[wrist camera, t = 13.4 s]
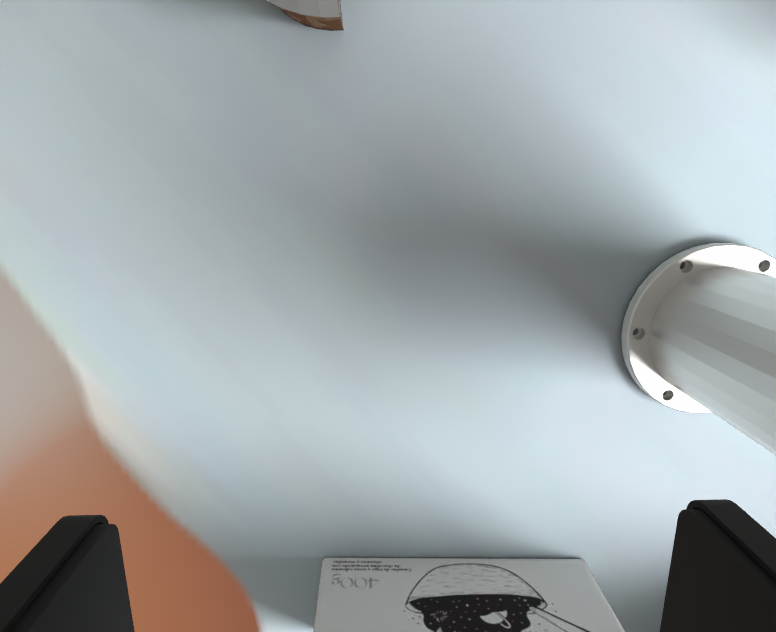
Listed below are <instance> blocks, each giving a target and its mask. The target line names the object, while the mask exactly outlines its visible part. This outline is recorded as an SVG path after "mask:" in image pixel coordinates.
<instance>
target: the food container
mask: <svg viewBox="0 0 776 632" xmlns="http://www.w3.org/2000/svg"><path fill="white" fill-rule="evenodd" d="M266 1H268V2H270V3H272V4H274V5H276V6H278V7H279V8H280V9H281V10H282V11H283V12H284V13H285V14H287V15H288V16H290V17H291V18H292V19H294V20H296V21H298V22H300V23H302V24H304V25H306V26H309V27H313V28H316V29H321V30H329V31H334V30H344V29H343V21H342V13H341V5H340V0H266Z"/></svg>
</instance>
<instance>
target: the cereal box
mask: <svg viewBox="0 0 776 632" xmlns="http://www.w3.org/2000/svg"><path fill="white" fill-rule="evenodd" d="M313 632H625V631H624V629H623V627H622V625H621V624H620V622H619V620H618V618H617V617H616V615H615V613H614V611H613V610H612V608H611V606H610V604H609V603H608V601H607V599H606V597H605V595H604V594H603V592H602V590H601V588H600V587H599V585H598V583H597V581H596V580H595V578H594V576H593V574H592V573H591V571H590V569H589V567H588V566H587V564H586V562H585V561H584V560H582V559H491V558H324V560H323V562H322V567H321V575H320V583H319V591H318V599H317V607H316V615H315V623H314V631H313Z"/></svg>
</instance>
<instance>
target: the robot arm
mask: <svg viewBox="0 0 776 632" xmlns="http://www.w3.org/2000/svg"><path fill="white" fill-rule="evenodd" d="M681 263H682V265H681ZM680 265H681V267H680ZM635 329H636V330H635ZM634 330H635V332H634V333H633V331H634ZM621 339H622V352H623V357H624V361H625V365H626V367H627V369H628V371H629V373H630V375H631V377H632V378H633V379H634V381H635V382H636V383H637V384H638V386H639V387H640V388H641V389H642V390H643V391H644V392H646V393H647V394H648V395H649V396H650V397H652V398H653V399H655V400H656V401H658V402H659V403H660V404H662V405H664V406H667V407H670V408H672V409H675V410H678V411H683V412H689V413H710V412H712V413H714V414H715V415H717V416H718V417H720V418H721V419H723V420H724V421H726V422H727V423H729V424H730V425H732V426H733V427H735V428H736V429H738V430H739V431H740V432H742V433H743V434H745V435H746V436H748V437H749V438H751V439H752V440H754V441H755V442H757V443H758V444H760V445H761V446H763V447H764V448H766V449H767V450H769V451H770V452H772V453H773V454H775V455H776V259H775V258H773V257H772V256H770V255H768V254H766V253H765V252H763V251H761V250H758V249H755V248H752V247H749V246H745V245H740V244H733V243H709V244H704V245H699V246H695V247H692V248H689V249H687V250H684V251H682V252H679V253H677V254H676V255H674V256H672V257H671V258H669V259H668V260H666V261H664V262H663V263H662V264H660V265H659V266H658V267H657V268H656V269H655V270H654V271H652V272H651V273H650V274H649V275H648V276H647V278H646V279H645V280H644V281H643V282H642V284H641V285H640V286H639V287H638V289H637V291H636V292H635V294H634V296H633V298H632V299H631V301H630V303H629V306H628V309H627V311H626V314H625V317H624V321H623V327H622V333H621ZM0 632H134V626H133V621H132V614H131V608H130V601H129V595H128V588H127V582H126V576H125V570H124V564H123V557H122V550H121V544H120V538H119V532H118V528H117V527H116V525H114V524H109V523H108V520H107V519H106V517H105V516H103V515H80V516H65V517H63V518H61V519H60V520H59V521H58V522H57V523H56V524H55V525H54V526H53V527H52V528H51V529H50V530H49V532H48V533H47V534H46V535H45V536H44V537H43V538H42V539H41V540H40V541H39V542H38V544H37V545H36V546H35V547H34V548H33V549H32V550H31V551H30V552H29V553H28V554H27V555H26V557H25V558H24V559H23V560H22V561H21V562H20V563H19V564H18V565H17V566H16V567H15V569H14V570H13V571H12V572H11V573H10V574H9V575H8V576H7V577H6V578H5V579H4V581H3V582H2V583H1V584H0ZM660 632H776V538H774V537H773V536H772V535H771V534H770V533H769V532H768V531H766V530H765V529H764V528H763V527H762V526H761V525H760V524H758V523H757V522H756V521H755V520H754V519H753V518H752V517H750V516H749V515H748V514H747V513H746V512H745V511H744V510H742V509H741V508H740V507H739V506H738V505H737V504H735V503H734V502H732V501H730V500H694V501H691V502H690V503H689V504H688V506H687V509H686V510H682V511H681V512H680V513H679V516H678V521H677V527H676V534H675V540H674V546H673V552H672V559H671V565H670V571H669V577H668V584H667V590H666V596H665V602H664V609H663V615H662V621H661V627H660Z"/></svg>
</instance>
